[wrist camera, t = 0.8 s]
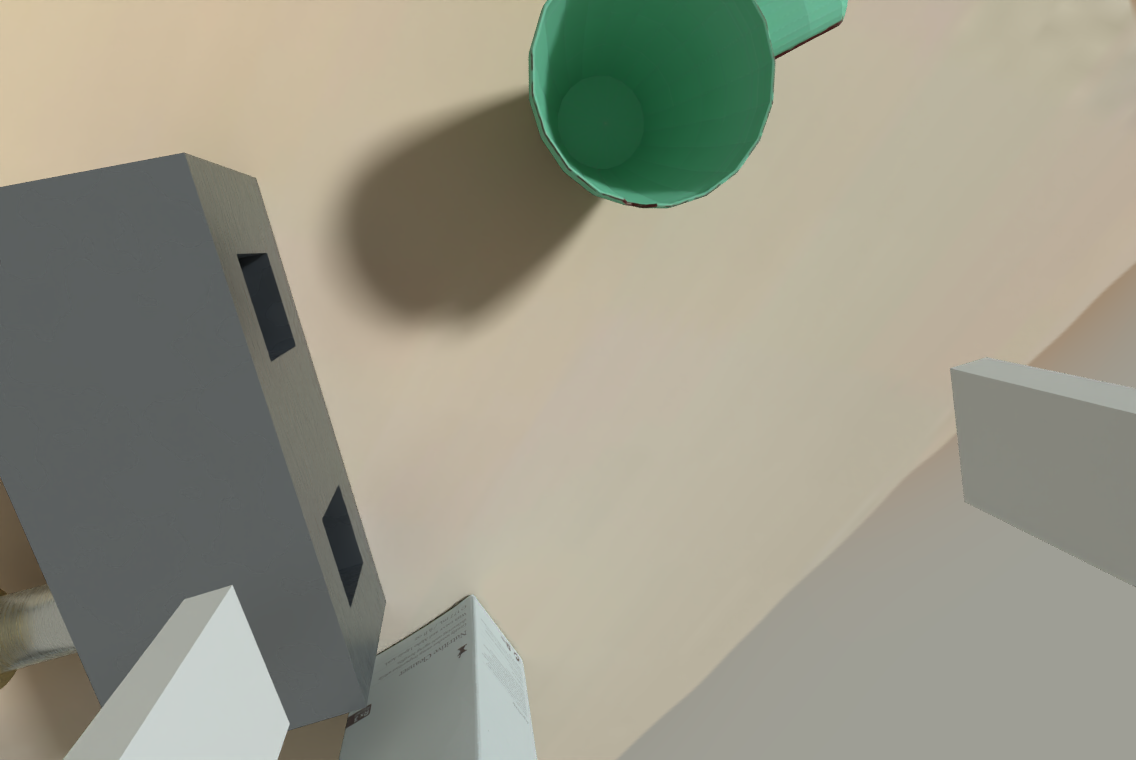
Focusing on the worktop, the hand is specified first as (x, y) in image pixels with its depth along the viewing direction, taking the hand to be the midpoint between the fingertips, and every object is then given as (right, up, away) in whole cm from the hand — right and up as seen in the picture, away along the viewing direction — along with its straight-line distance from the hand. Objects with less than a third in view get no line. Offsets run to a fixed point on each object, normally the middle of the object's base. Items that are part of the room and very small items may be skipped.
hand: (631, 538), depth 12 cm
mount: (-19, 0, +23) cm, 30 cm away
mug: (+3, +18, +24) cm, 30 cm away
